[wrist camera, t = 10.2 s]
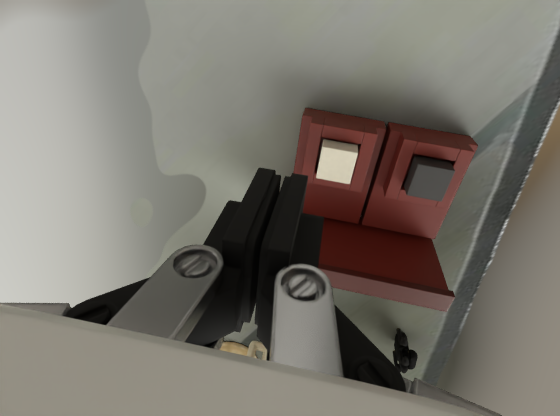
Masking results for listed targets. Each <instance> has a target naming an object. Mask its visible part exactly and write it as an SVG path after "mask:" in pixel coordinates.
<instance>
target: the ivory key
mask: <svg viewBox="0 0 560 416" xmlns="http://www.w3.org/2000/svg"><path fill="white" fill-rule="evenodd" d="M357 155H358V145H354V144H348V143H343V142H337V141H332V140H326V139H324V140H323V144H322V149H321V154H320V159H319V164H318V169H317V175H316V178H319V179H324V180H329V181H335V182H340V183H345V184H350V182H351V178H352V174H353V170H354V167H355V163H356V159H357Z"/></svg>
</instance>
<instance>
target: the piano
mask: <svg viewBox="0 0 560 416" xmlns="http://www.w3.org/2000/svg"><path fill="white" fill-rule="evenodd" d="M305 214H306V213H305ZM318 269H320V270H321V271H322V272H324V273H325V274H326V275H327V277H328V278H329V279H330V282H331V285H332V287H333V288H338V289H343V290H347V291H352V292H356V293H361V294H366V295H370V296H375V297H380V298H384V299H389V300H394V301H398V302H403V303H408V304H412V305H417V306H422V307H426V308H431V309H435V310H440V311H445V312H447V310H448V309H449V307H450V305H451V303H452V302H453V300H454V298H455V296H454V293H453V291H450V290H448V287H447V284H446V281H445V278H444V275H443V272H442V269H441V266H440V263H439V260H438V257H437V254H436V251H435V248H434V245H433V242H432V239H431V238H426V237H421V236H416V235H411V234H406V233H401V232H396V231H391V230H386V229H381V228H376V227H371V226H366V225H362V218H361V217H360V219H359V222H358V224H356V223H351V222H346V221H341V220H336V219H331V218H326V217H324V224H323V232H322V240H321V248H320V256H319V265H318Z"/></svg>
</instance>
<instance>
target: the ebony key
mask: <svg viewBox="0 0 560 416" xmlns="http://www.w3.org/2000/svg"><path fill="white" fill-rule="evenodd" d="M454 173H455V169H454V168H453V166H452V164H451V163H450V162H448V161H443V160H437V159H432V158H426V157H421V156H414V159H413V161H412V164H411V167H410V170H409V172H408V175H407V178H406V181H405V183H404V188H405V192H406V195H408V196H414V197H419V198H424V199H429V200H435V201H440V202H442V200H443V197H444V195H445V193H446V191H447V188H448V186H449V184H450V182H451V179H452V177H453V175H454Z"/></svg>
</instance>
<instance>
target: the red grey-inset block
mask: <svg viewBox="0 0 560 416" xmlns="http://www.w3.org/2000/svg"><path fill="white" fill-rule="evenodd" d="M477 147H478V145H477V144H476V142H475V141H474V140H473V139H472V138H471V137H470V136H466V135H460V134H454V133H448V132H443V131H437V130H431V129H425V128H420V127H414V126H408V125H402V124H396V123H391V122H389V123H388V126H387V129H386V133H385V136H384V139H383V143H382V146H381V149H380V153H379V156H378V159H377V163H376V166H375V169H374V173H373V176H372V179H371V182H370V186H369V189H368V192H367V196H366V199H365V202H364V206H363V209H362V212H361V218H362V225H366V226H371V227H376V228H381V229H386V230H391V231H396V232H401V233H406V234H411V235H416V236H421V237H426V238H431V239H435V237H436V235H437V233H438V231H439V229H440V227H441V224H442V222H443V220H444V218H445V216H446V214H447V212H448V209H449V207H450V205H451V203H452V201H453V199H454V197H455V194H456V192H457V190H458V188H459V186H460V184H461V182H462V179H463V177H464V175H465V173H466V171H467V169H468V166H469V164H470V162H471V160H472V158H473V156H474V154H475V151H476V149H477ZM414 156H421V157H426V158H432V159H437V160H443V161H448V162H450V163H451V164H452V166H453V168H454V169H455V173H454V175H453V177H452V179H451V182H450V184H449V186H448V188H447V191H446V193H445V195H444V197H443V200H442V202H440V201H435V200H429V199H424V198H419V197H414V196H408V195H406V192H405V188H404V183H405V181H406V178H407V175H408V172H409V170H410V167H411V164H412V161H413V159H414Z"/></svg>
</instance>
